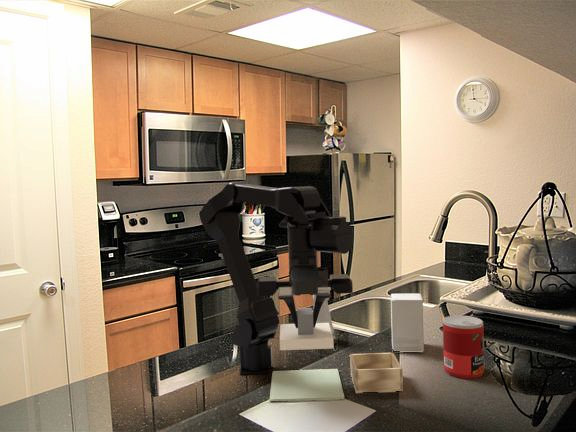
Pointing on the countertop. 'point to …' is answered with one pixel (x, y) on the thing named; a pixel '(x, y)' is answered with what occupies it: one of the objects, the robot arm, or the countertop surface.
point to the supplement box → (407, 322)
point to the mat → (306, 385)
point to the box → (376, 372)
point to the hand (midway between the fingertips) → (305, 327)
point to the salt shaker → (325, 315)
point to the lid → (305, 333)
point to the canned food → (463, 346)
